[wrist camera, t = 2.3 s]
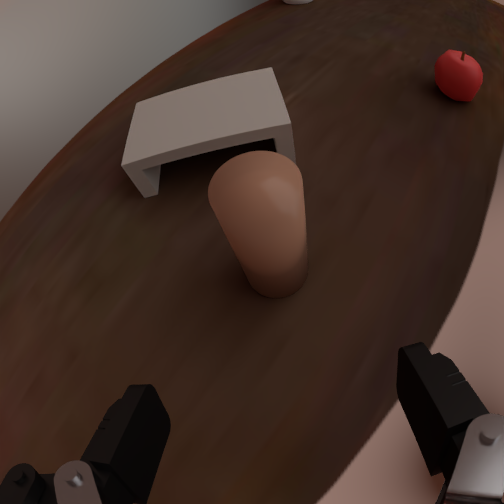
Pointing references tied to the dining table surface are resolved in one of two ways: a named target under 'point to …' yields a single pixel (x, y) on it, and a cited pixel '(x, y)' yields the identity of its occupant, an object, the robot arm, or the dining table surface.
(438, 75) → the apple
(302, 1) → the bottle
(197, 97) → the white channel block
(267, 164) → the tan rounded-top cylinder
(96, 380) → the dining table surface
